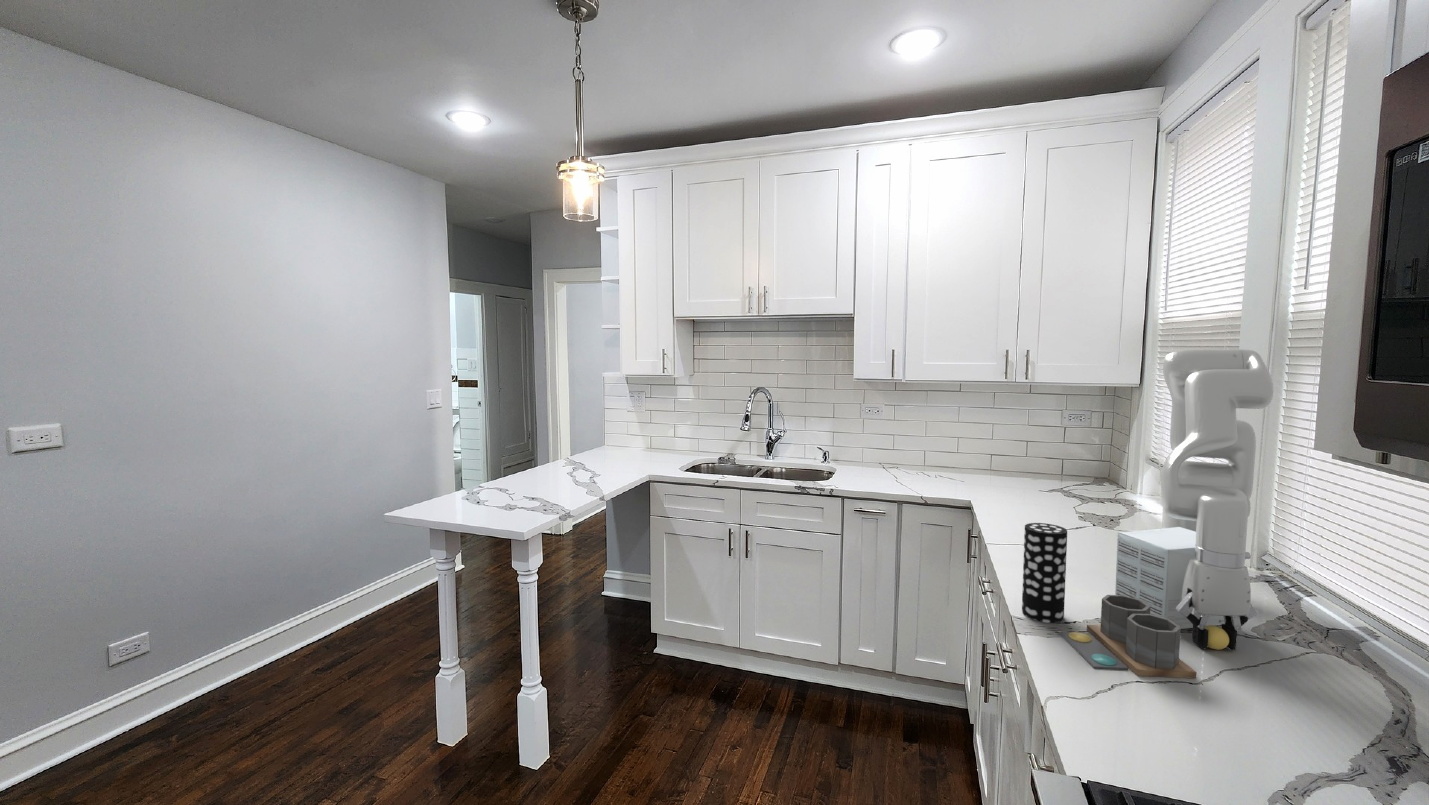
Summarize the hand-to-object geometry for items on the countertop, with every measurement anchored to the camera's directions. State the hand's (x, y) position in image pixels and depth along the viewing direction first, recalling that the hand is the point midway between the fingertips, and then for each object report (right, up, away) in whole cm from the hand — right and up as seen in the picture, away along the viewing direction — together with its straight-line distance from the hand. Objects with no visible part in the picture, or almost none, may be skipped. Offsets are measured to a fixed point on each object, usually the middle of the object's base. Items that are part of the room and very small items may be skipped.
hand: (1213, 645), depth 118 cm
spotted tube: (-26, 0, +16) cm, 30 cm away
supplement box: (+3, 0, +15) cm, 15 cm away
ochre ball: (0, -1, 0) cm, 1 cm away
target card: (-25, -1, 0) cm, 25 cm away
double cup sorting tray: (-16, -1, -1) cm, 16 cm away
